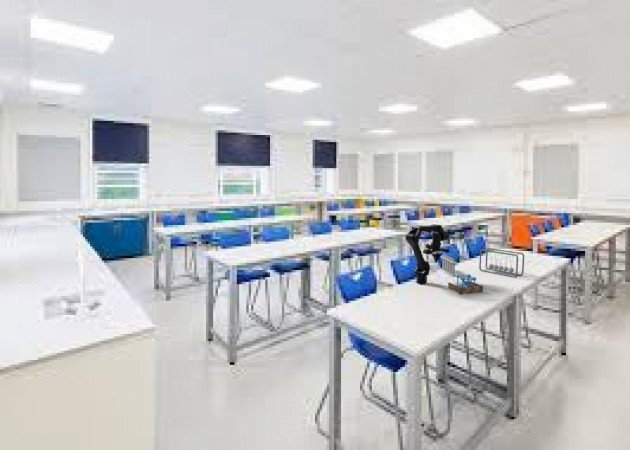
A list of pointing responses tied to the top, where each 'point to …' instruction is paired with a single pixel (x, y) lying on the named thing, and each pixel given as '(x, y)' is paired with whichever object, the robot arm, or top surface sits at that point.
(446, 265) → the test tube rack
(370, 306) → the top surface
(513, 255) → the newton's cradle
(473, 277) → the molecular structure
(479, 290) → the box
